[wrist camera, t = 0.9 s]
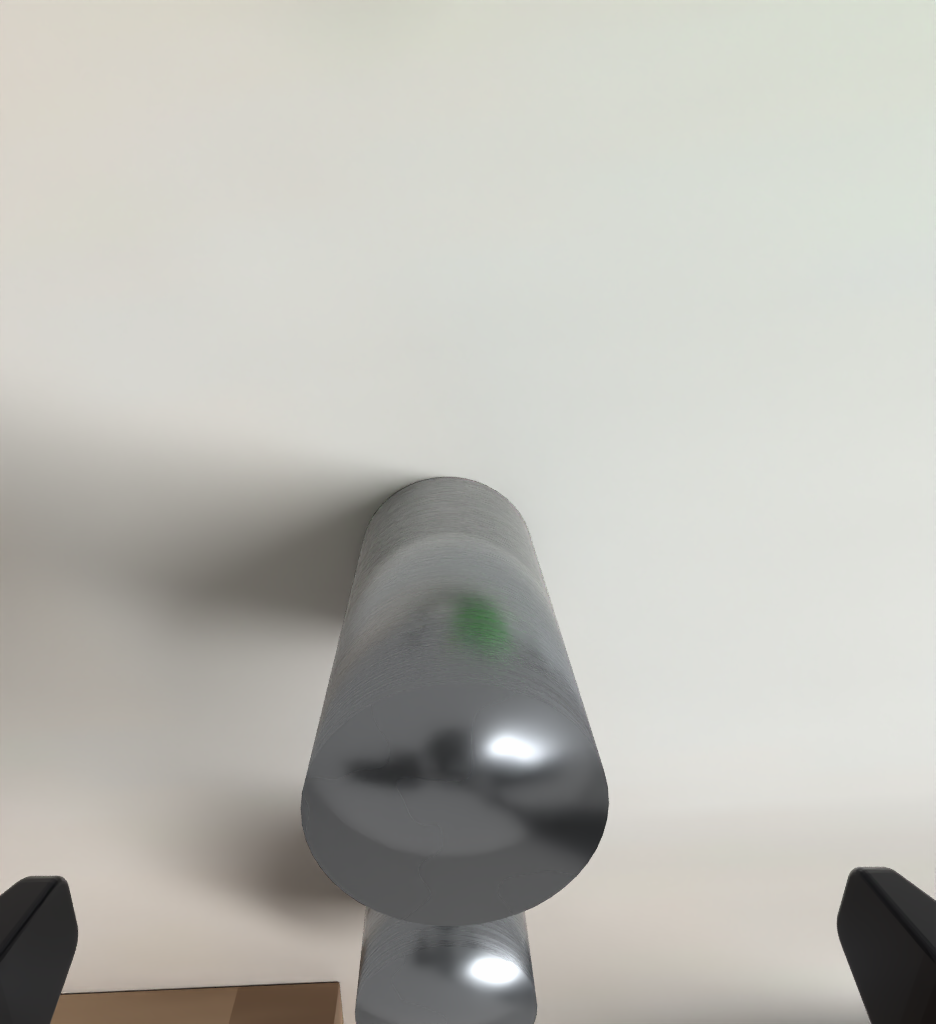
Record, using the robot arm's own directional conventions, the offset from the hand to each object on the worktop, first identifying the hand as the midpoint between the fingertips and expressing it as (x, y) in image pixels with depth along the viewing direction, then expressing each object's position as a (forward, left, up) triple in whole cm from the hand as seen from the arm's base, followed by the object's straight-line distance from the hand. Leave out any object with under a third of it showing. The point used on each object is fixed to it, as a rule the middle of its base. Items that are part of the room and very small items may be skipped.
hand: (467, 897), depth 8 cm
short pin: (-8, +4, -9) cm, 13 cm away
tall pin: (0, 0, -9) cm, 9 cm away
